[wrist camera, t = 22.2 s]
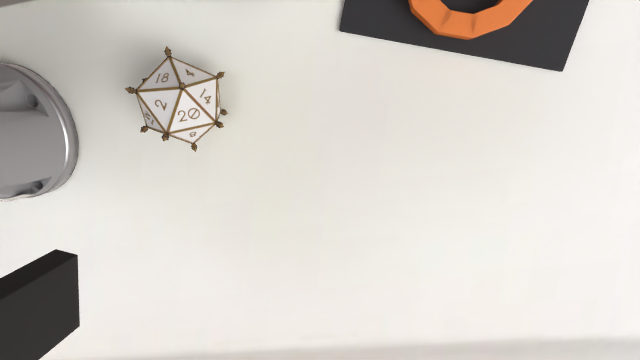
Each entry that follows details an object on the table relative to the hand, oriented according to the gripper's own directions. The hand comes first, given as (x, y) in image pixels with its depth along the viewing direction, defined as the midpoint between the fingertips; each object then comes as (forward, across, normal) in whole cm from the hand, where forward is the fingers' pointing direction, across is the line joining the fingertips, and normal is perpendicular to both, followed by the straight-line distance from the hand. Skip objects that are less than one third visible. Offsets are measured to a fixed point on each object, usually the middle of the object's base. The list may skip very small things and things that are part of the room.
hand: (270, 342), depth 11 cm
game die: (+27, -16, +3) cm, 31 cm away
